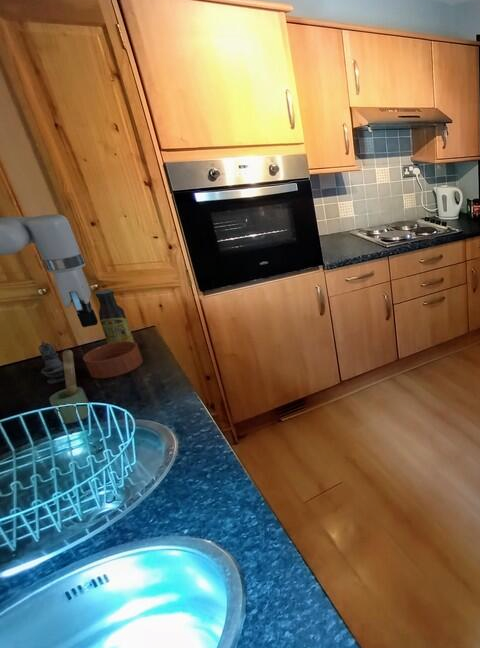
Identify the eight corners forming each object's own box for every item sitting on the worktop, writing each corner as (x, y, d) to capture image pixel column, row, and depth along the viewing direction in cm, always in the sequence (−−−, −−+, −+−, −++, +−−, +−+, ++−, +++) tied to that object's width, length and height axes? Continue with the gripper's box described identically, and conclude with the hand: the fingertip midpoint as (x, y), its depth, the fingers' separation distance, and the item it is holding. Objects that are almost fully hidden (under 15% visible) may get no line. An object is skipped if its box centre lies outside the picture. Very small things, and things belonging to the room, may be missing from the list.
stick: (69, 418, 111) (61, 352, 106) (70, 414, 113) (62, 349, 107) (79, 417, 112) (71, 351, 107) (80, 413, 114) (72, 348, 109)
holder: (59, 428, 109) (47, 404, 106) (62, 415, 113) (51, 392, 111) (91, 419, 112) (81, 395, 109) (94, 406, 117) (83, 384, 114)
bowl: (88, 384, 126) (80, 366, 123) (92, 366, 135) (85, 348, 132) (143, 371, 132) (136, 353, 130) (143, 354, 141) (137, 337, 139)
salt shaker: (73, 370, 132) (56, 334, 128) (74, 378, 129) (57, 341, 124) (45, 378, 129) (27, 341, 124) (46, 386, 125) (27, 348, 120)
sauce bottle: (108, 355, 141) (84, 296, 132) (114, 346, 146) (92, 289, 138) (133, 351, 143) (111, 293, 135) (139, 342, 148) (118, 286, 140)
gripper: (49, 257, 122) (75, 318, 130) (40, 273, 111) (69, 338, 119) (86, 253, 126) (109, 312, 134) (80, 267, 115) (106, 331, 123)
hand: (90, 324), depth 126 cm, fingers closed
